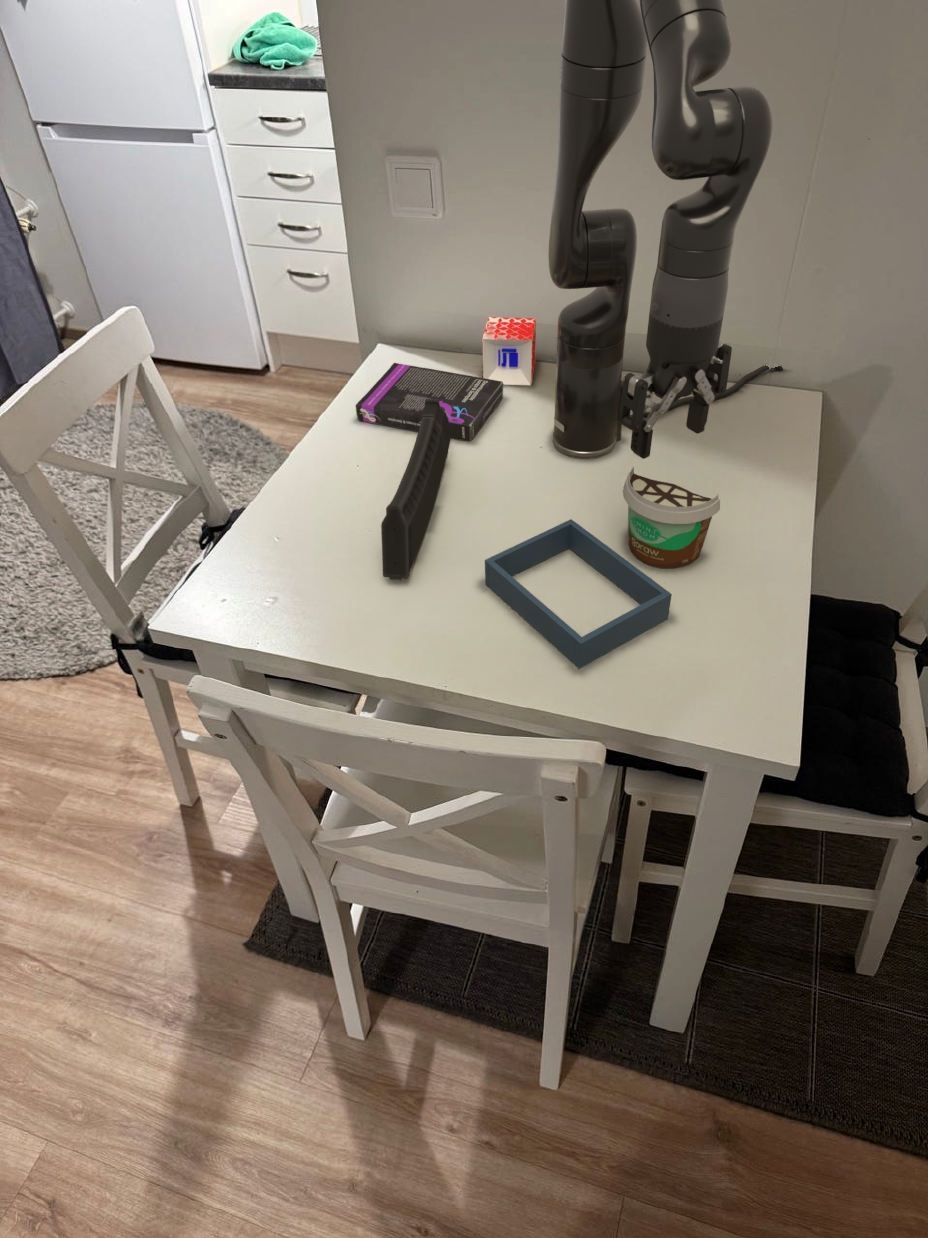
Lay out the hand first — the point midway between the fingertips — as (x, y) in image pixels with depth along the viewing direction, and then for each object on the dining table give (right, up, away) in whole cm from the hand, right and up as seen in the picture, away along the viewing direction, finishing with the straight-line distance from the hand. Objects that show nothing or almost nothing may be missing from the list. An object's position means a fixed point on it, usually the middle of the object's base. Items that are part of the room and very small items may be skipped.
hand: (668, 442), depth 105 cm
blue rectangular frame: (-10, -18, +5) cm, 22 cm away
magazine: (-29, -6, +19) cm, 36 cm away
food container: (+1, -13, +11) cm, 17 cm away
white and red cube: (-16, +21, +47) cm, 54 cm away
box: (-29, +13, +39) cm, 50 cm away
